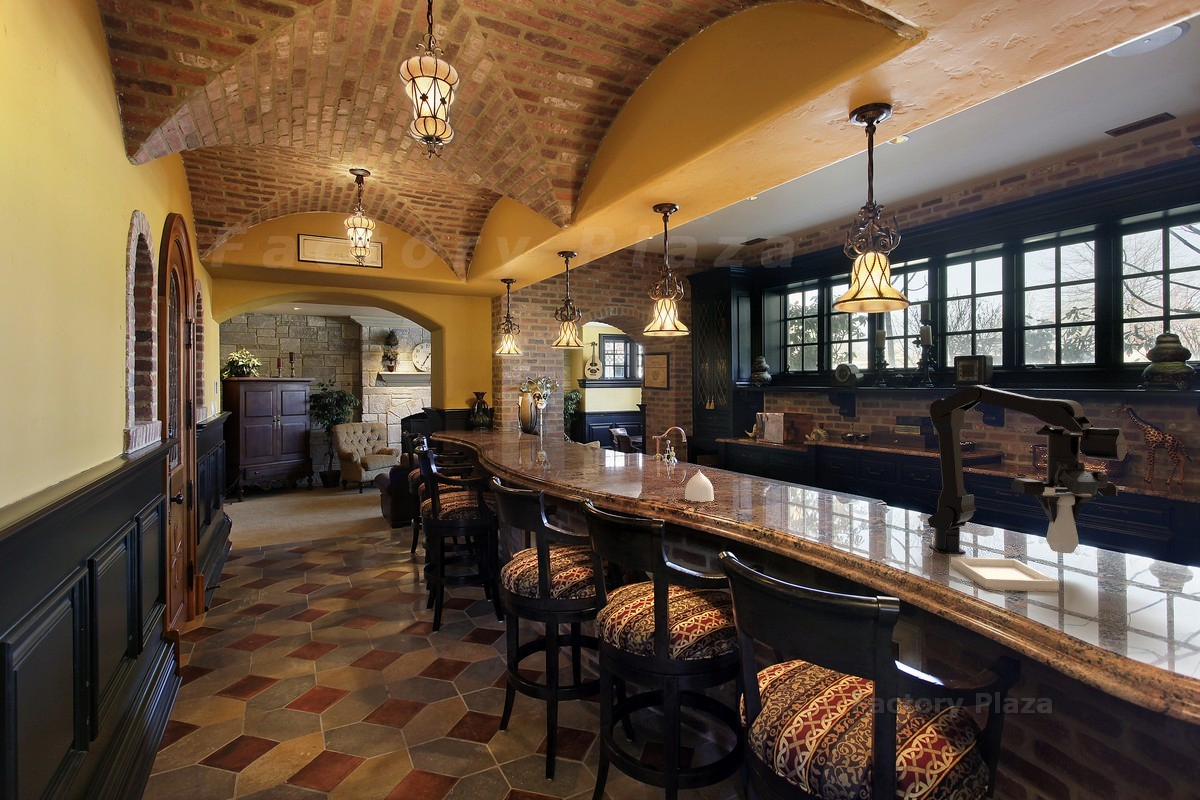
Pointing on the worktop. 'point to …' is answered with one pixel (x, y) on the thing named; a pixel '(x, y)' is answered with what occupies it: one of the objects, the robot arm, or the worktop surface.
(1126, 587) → the worktop surface
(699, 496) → the teardrop
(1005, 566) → the tray
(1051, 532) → the salt shaker
